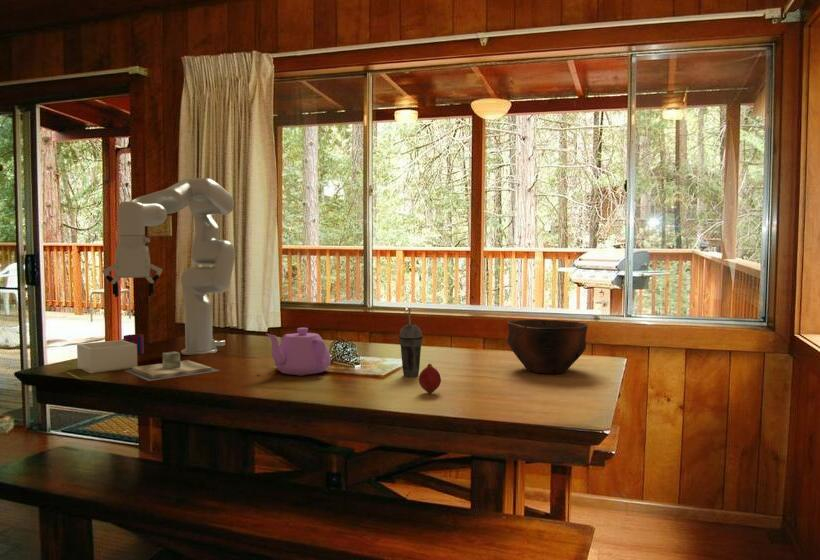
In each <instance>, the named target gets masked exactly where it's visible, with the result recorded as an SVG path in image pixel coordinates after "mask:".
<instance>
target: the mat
mask: <svg viewBox="0 0 820 560" xmlns="http://www.w3.org/2000/svg"><path fill="white" fill-rule="evenodd" d="M122 370H123V371H124V372H126V373H129V374H131V375H133V376H135V377H138V378H140V379H143V380H145V381H147V382H153V381H158V380H166V379H173V378H180V377H187V376H194V375H202V374H208V373H215V372H221V370H219V369H217V368H213V367H212V371H206V372H199V373H192V374H185V375H178V376H170V377H163V378H156V379H152V378H150V377H147V376H145V375H142V374H140V373H137V372H135V371H133V370H132V368H129V369H122Z"/></svg>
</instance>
